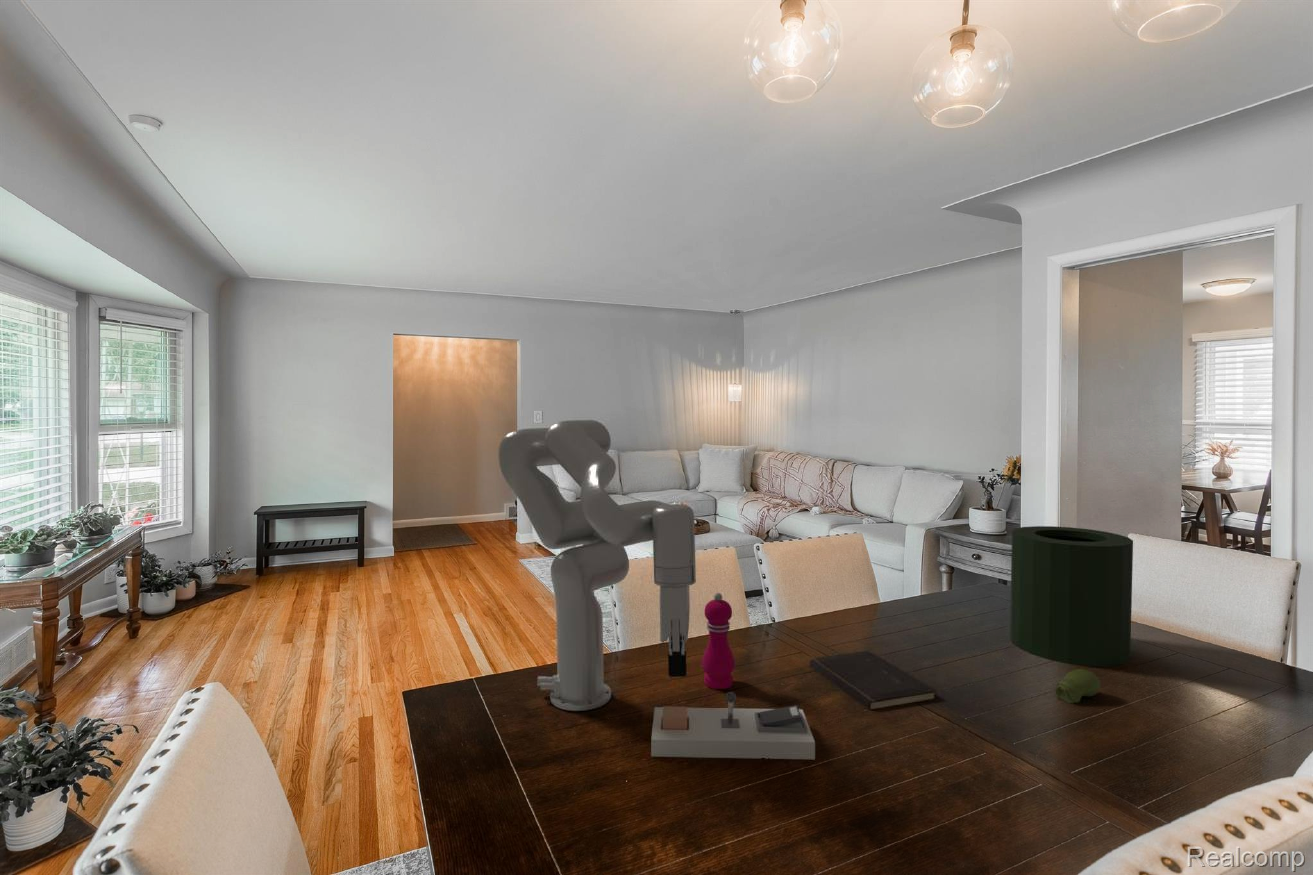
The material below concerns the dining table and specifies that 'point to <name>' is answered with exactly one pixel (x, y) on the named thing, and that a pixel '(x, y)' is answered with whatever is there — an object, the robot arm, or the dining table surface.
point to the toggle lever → (730, 705)
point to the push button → (674, 718)
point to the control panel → (731, 736)
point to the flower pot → (1072, 595)
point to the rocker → (780, 716)
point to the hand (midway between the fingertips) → (677, 674)
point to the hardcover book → (871, 679)
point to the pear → (1077, 685)
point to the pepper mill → (718, 645)
